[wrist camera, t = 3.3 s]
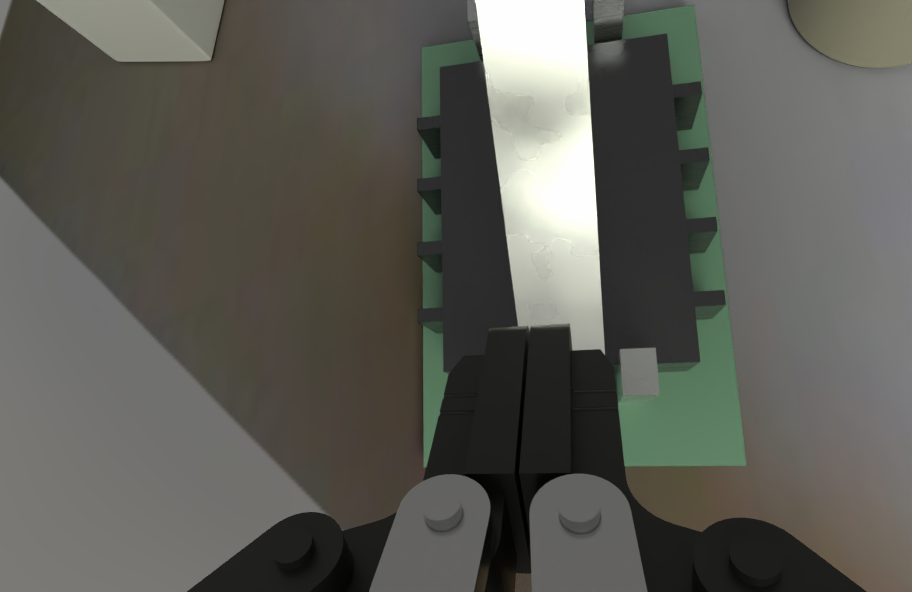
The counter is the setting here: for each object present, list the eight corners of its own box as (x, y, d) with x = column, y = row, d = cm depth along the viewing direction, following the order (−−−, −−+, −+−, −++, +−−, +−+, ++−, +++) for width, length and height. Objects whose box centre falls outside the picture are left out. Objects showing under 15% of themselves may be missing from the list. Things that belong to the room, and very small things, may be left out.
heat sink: (436, 76, 33) (396, -7, 27) (680, 41, 30) (701, -61, 24) (439, 408, 29) (395, 402, 23) (719, 400, 27) (754, 391, 20)
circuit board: (427, 59, 35) (421, 47, 34) (690, 19, 32) (694, 4, 31) (430, 465, 30) (423, 467, 29) (740, 464, 27) (746, 465, 26)
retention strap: (605, 369, 24) (606, 385, 23) (527, 372, 25) (526, 387, 24) (577, -100, 17) (578, -102, 16) (470, -78, 18) (464, -80, 17)
